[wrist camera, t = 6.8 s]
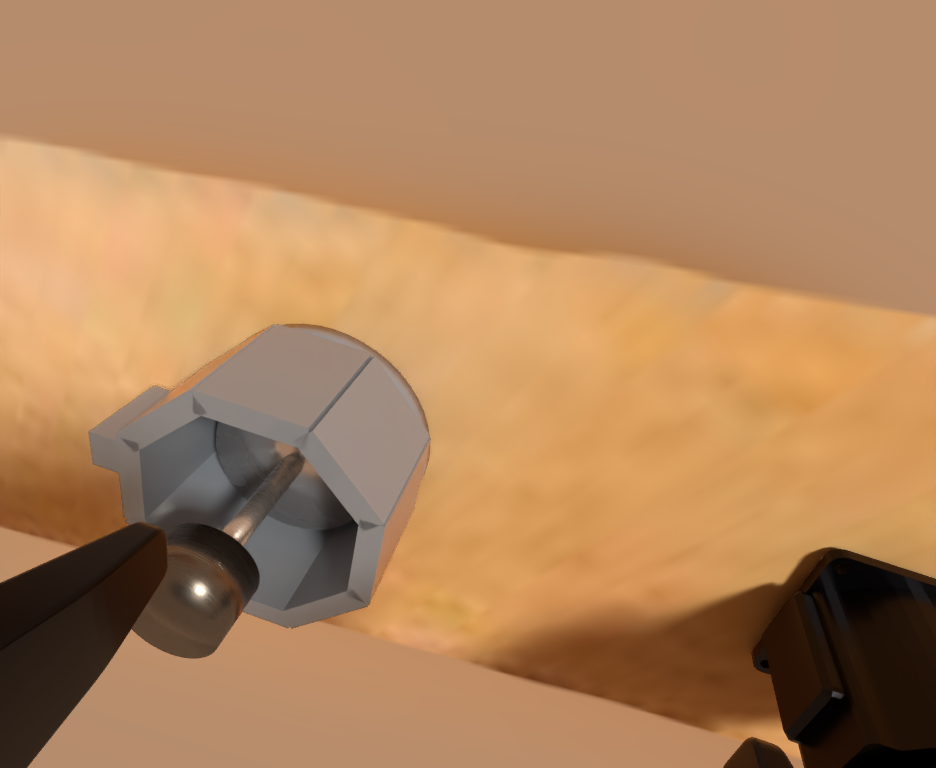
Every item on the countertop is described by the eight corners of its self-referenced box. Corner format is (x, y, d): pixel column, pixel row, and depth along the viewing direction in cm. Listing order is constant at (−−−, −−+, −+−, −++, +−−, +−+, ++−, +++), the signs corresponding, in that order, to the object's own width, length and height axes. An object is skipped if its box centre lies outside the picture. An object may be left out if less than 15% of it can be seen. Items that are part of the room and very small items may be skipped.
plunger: (389, 414, 20) (279, 580, 14) (366, 538, 24) (268, 721, 17) (226, 361, 21) (48, 497, 15) (224, 490, 24) (77, 649, 18)
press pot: (451, 365, 21) (399, 458, 16) (409, 542, 26) (359, 654, 21) (177, 280, 22) (53, 344, 17) (184, 464, 27) (87, 555, 22)
